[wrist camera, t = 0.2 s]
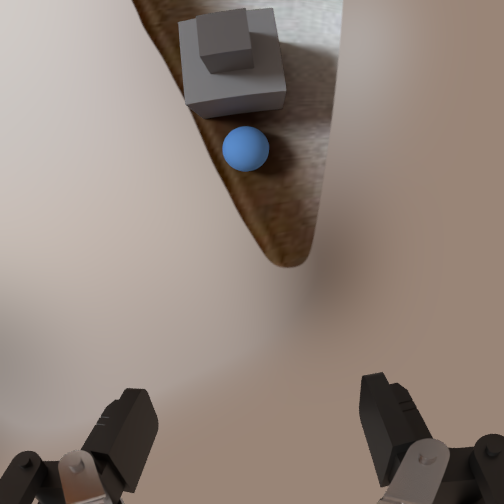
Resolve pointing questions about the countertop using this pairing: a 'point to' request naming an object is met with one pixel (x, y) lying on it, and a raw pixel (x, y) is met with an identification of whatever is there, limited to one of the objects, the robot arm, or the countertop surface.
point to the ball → (245, 148)
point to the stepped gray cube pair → (232, 63)
